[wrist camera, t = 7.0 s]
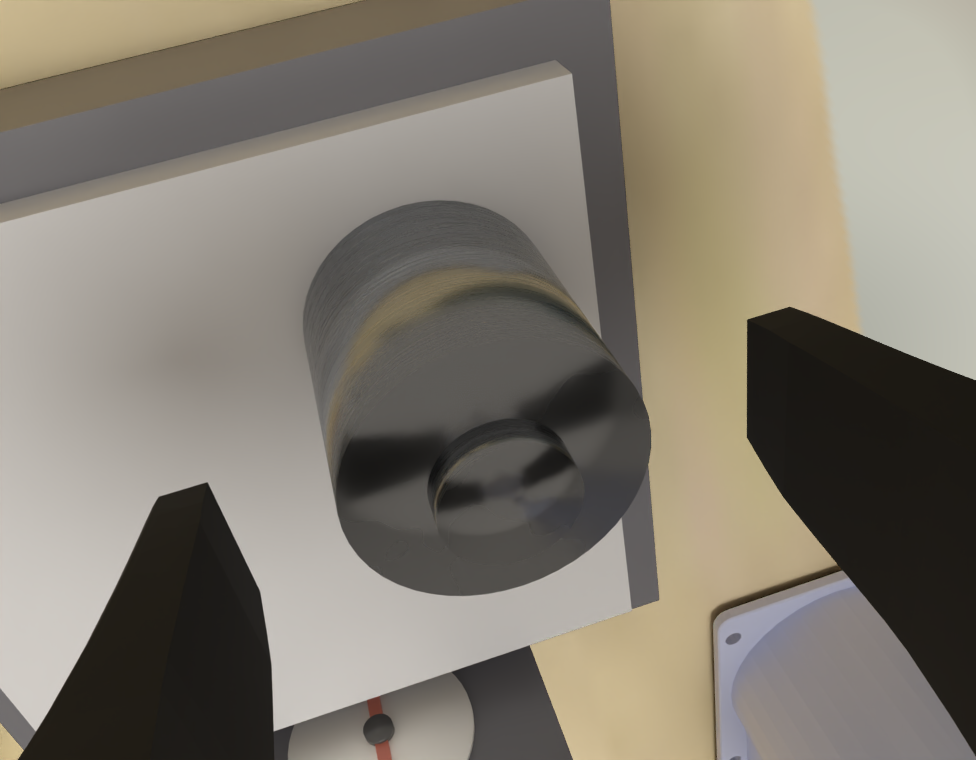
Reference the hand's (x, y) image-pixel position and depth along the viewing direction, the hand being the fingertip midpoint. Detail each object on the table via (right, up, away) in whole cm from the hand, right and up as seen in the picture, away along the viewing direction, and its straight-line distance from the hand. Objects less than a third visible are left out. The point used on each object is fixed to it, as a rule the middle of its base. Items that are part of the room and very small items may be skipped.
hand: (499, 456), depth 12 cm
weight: (-1, +2, +4) cm, 5 cm away
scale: (-5, +1, +8) cm, 9 cm away
